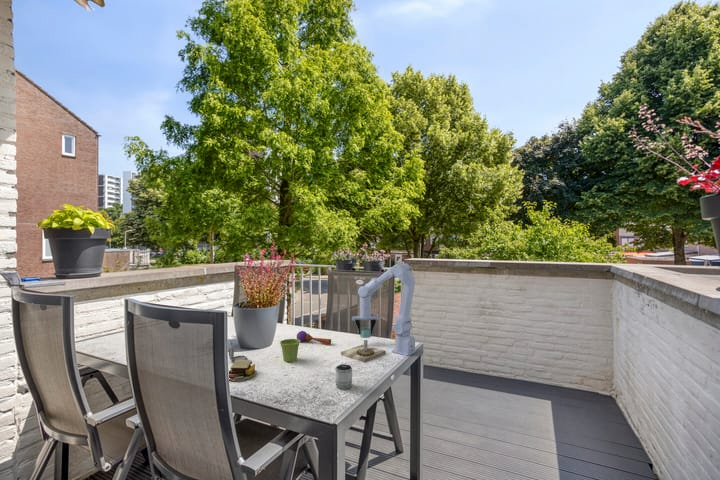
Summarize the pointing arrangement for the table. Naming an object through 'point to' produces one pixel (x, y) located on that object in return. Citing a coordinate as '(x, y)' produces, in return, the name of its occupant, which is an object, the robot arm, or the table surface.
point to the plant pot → (290, 349)
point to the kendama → (311, 338)
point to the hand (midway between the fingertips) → (365, 333)
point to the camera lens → (343, 376)
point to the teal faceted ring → (365, 332)
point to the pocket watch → (231, 354)
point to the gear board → (363, 352)
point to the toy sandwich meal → (242, 370)
